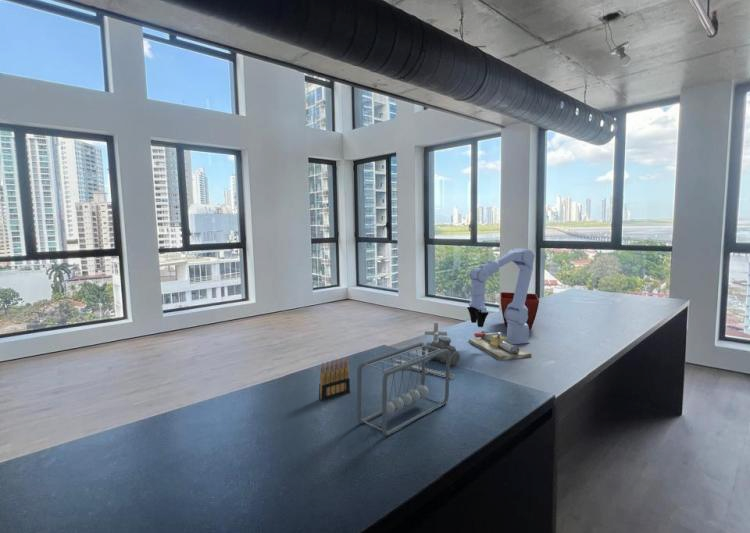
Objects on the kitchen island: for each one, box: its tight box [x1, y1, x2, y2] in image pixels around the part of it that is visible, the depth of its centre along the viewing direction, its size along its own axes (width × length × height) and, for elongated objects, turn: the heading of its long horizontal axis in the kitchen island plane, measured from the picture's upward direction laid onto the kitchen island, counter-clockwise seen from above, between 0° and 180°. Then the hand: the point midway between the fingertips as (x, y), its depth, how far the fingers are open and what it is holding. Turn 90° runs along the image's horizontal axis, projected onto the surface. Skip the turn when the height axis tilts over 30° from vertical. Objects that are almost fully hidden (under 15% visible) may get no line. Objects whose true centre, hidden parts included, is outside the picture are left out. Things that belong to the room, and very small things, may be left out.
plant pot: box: [499, 291, 540, 330], centre depth 220 cm, size 19×19×17 cm
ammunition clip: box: [318, 356, 351, 402], centre depth 130 cm, size 11×2×12 cm, turn 128°
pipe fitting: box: [426, 335, 461, 367], centre depth 162 cm, size 12×8×10 cm
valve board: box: [468, 337, 532, 361], centre depth 180 cm, size 15×26×2 cm, turn 16°
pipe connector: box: [424, 321, 448, 341], centre depth 187 cm, size 10×10×10 cm
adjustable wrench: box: [392, 359, 455, 379], centre depth 152 cm, size 25×6×2 cm, turn 52°
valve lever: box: [474, 331, 503, 338], centre depth 178 cm, size 13×2×1 cm, turn 106°
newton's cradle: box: [356, 342, 451, 437], centre depth 118 cm, size 30×10×18 cm, turn 136°
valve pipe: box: [480, 330, 520, 355], centre depth 180 cm, size 4×25×6 cm, turn 16°
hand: (477, 324), depth 182 cm, fingers open, 7 cm apart
